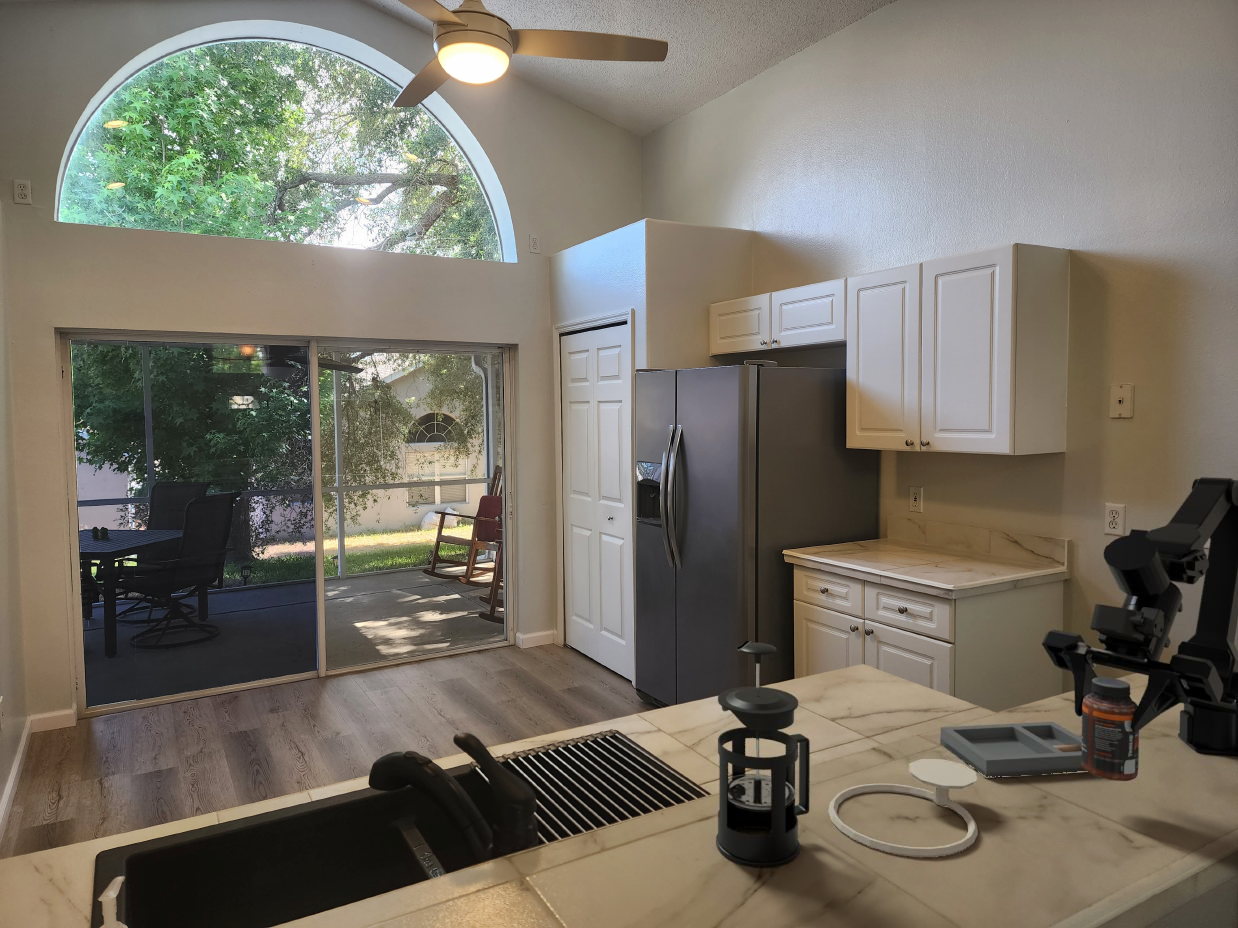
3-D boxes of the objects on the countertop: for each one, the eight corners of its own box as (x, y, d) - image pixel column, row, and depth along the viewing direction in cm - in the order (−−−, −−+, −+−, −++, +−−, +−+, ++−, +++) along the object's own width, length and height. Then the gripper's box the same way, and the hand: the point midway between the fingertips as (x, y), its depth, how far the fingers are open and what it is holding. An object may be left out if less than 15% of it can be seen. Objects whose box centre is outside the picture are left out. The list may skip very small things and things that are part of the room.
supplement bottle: (1147, 785, 93) (1149, 691, 93) (1092, 781, 94) (1093, 688, 94) (1125, 763, 99) (1127, 675, 98) (1074, 760, 100) (1075, 672, 100)
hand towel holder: (798, 778, 97) (907, 742, 108) (799, 813, 98) (907, 774, 108) (915, 837, 83) (1026, 788, 94) (915, 877, 83) (1026, 824, 94)
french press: (736, 876, 83) (736, 661, 82) (696, 834, 92) (696, 639, 91) (829, 854, 87) (830, 650, 86) (783, 816, 96) (783, 630, 95)
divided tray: (1052, 737, 120) (1052, 721, 120) (1109, 771, 108) (1110, 753, 108) (940, 743, 118) (940, 727, 118) (986, 778, 106) (986, 760, 106)
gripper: (1049, 569, 105) (1005, 666, 100) (1216, 592, 90) (1174, 707, 84) (1077, 618, 110) (1036, 713, 105) (1239, 648, 95) (1202, 760, 89)
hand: (1104, 721), depth 96 cm, fingers closed on supplement bottle, 6 cm apart
